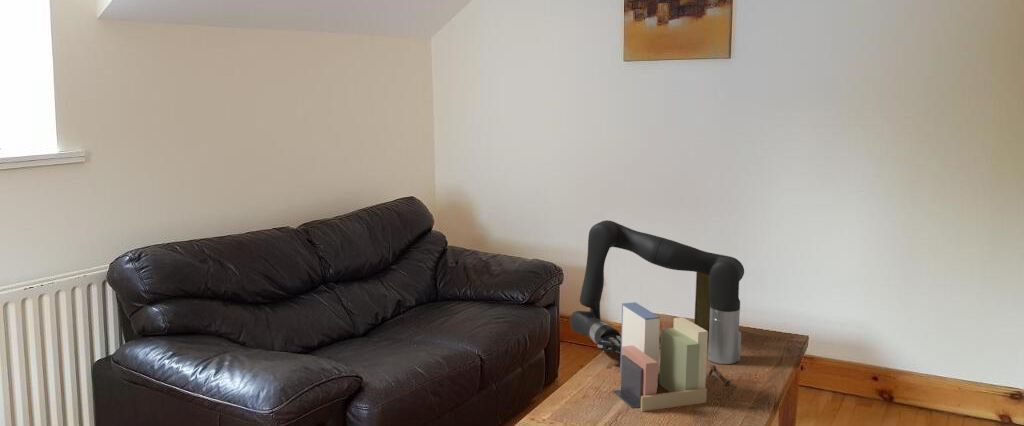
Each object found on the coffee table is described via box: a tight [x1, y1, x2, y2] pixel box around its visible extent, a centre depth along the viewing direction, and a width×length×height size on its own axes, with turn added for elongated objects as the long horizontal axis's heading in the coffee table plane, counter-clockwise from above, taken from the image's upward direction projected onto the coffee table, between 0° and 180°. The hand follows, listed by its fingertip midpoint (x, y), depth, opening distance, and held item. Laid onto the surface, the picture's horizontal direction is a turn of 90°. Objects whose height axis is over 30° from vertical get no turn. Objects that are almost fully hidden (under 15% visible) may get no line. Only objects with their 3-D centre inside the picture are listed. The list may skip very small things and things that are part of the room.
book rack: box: [622, 316, 708, 412], centre depth 243 cm, size 21×16×20 cm
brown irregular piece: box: [707, 364, 731, 386], centre depth 256 cm, size 2×8×4 cm, turn 32°
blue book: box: [619, 302, 661, 386], centre depth 255 cm, size 5×16×22 cm, turn 17°
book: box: [693, 272, 710, 340], centre depth 300 cm, size 16×6×25 cm, turn 168°
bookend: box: [612, 355, 643, 409], centre depth 242 cm, size 3×12×11 cm, turn 18°
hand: (627, 352), depth 263 cm, fingers closed
